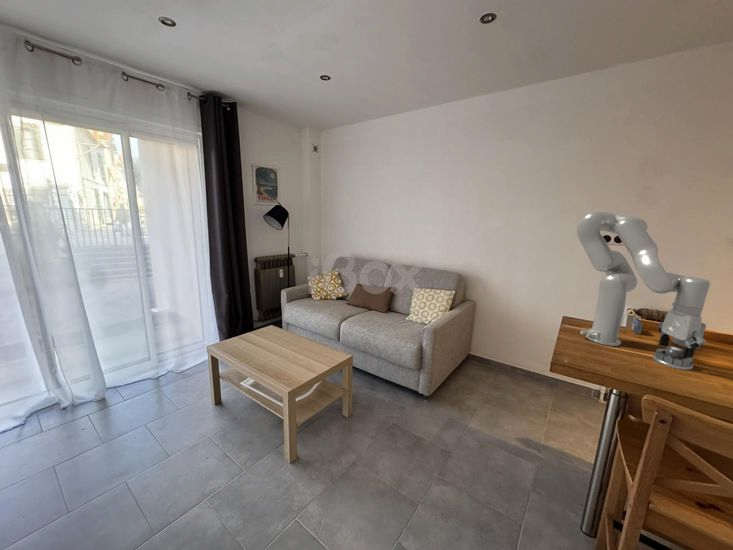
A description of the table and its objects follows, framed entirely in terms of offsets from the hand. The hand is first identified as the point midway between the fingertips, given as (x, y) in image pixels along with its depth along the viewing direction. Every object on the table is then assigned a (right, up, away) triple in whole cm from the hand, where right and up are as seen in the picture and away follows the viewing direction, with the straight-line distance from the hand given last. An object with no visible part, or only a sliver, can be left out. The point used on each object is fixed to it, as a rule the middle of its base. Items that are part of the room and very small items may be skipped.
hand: (674, 351), depth 116 cm
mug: (+24, -2, +19) cm, 30 cm away
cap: (0, -4, +1) cm, 4 cm away
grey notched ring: (0, -5, +1) cm, 5 cm away
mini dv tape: (+14, +1, +33) cm, 36 cm away
